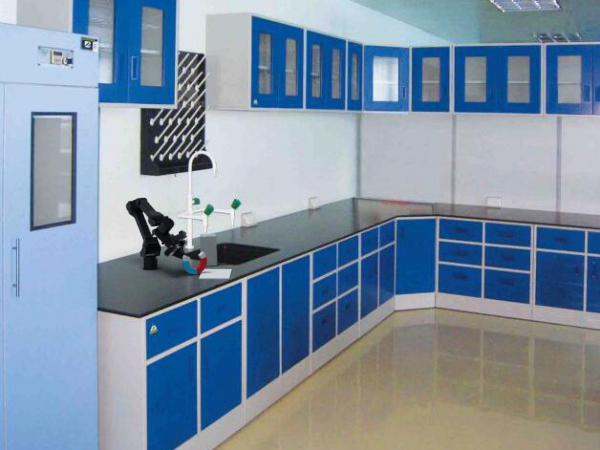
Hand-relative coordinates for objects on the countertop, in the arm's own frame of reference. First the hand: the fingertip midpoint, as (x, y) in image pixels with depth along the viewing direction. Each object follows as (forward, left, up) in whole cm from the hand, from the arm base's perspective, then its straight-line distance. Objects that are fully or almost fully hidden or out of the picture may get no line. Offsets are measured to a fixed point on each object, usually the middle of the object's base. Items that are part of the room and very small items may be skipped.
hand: (187, 260), depth 369 cm
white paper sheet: (+14, -1, -7) cm, 15 cm away
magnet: (+4, -1, -7) cm, 8 cm away
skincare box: (+8, +21, -7) cm, 24 cm away
